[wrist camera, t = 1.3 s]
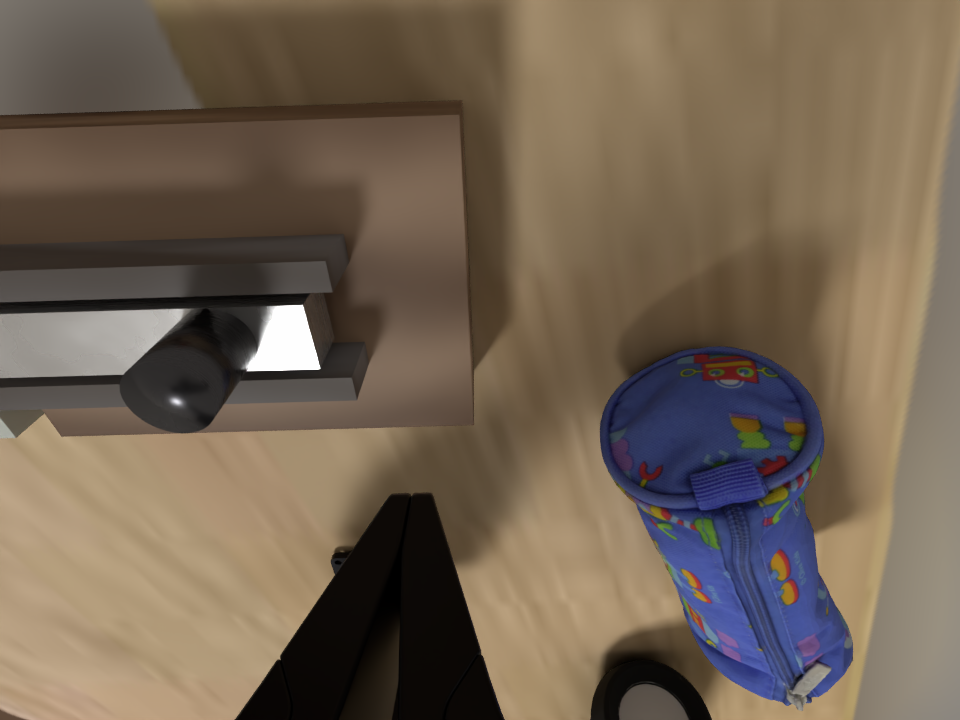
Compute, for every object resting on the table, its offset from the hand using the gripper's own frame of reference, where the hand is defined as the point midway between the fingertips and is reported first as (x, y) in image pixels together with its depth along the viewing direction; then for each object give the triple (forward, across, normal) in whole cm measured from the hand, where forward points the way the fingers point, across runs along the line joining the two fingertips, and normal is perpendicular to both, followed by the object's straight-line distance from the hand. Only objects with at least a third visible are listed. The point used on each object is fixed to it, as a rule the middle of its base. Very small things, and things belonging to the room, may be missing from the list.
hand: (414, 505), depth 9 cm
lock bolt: (+9, +10, 0) cm, 13 cm away
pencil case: (+13, -15, +15) cm, 25 cm away
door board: (+13, +8, 0) cm, 15 cm away
